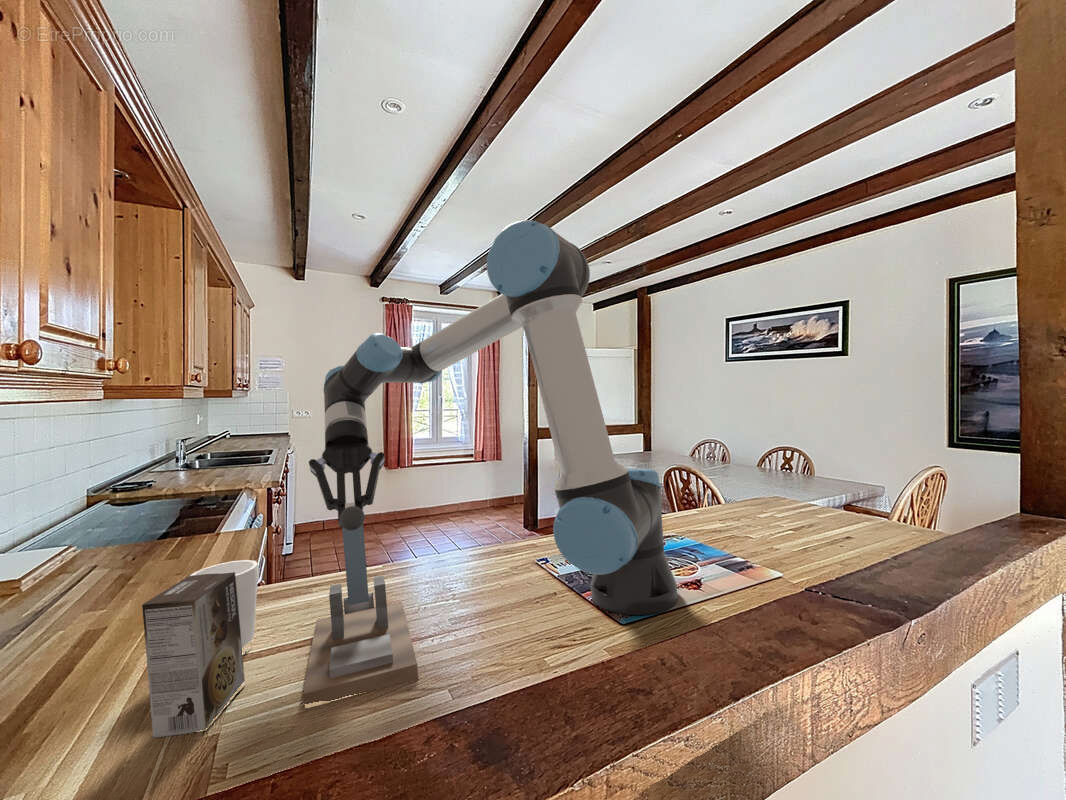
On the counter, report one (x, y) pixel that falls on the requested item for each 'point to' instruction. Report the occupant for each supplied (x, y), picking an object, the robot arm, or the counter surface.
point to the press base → (359, 649)
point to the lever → (355, 561)
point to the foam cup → (241, 592)
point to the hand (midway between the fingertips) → (352, 542)
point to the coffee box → (192, 652)
